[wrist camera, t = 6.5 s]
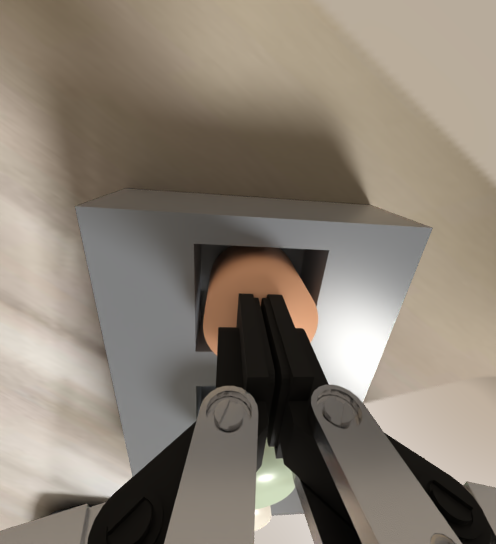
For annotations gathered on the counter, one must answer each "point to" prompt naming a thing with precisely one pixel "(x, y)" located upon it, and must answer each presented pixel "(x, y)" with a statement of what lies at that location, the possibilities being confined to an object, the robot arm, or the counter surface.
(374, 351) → the console
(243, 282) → the terracotta button
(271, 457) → the sage button
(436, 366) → the counter surface
